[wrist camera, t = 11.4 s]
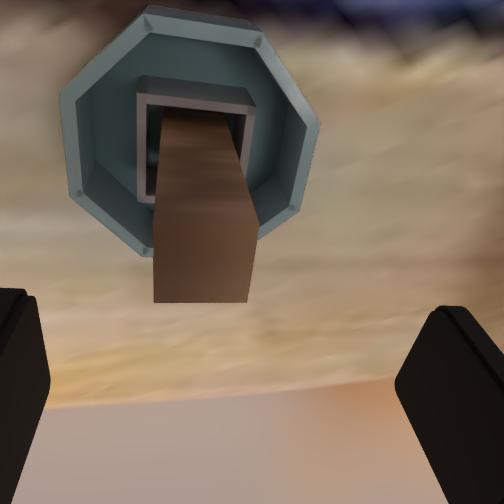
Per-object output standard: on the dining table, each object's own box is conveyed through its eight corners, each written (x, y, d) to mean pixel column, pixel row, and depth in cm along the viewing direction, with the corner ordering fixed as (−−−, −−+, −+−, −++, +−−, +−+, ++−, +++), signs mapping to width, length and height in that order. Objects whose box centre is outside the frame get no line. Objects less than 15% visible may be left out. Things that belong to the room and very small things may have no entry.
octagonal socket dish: (311, 30, 21) (340, 44, 17) (271, 221, 27) (286, 262, 23) (73, -8, 18) (48, -2, 15) (90, 211, 24) (75, 254, 21)
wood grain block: (222, 107, 22) (259, 224, 12) (217, 161, 23) (246, 302, 14) (163, 102, 21) (153, 221, 11) (163, 157, 23) (153, 302, 13)
